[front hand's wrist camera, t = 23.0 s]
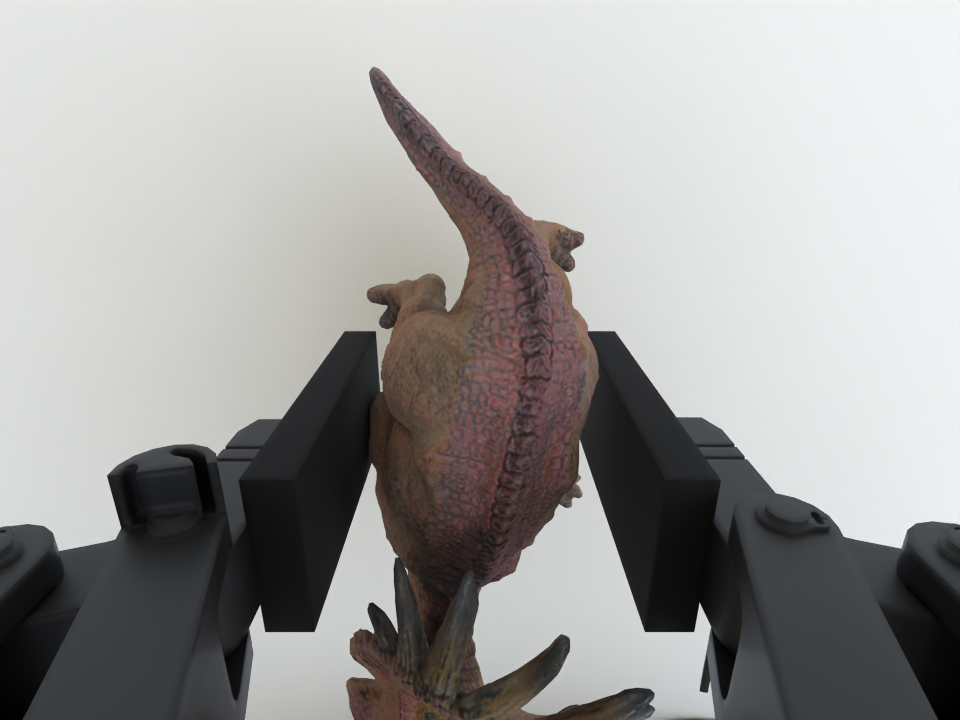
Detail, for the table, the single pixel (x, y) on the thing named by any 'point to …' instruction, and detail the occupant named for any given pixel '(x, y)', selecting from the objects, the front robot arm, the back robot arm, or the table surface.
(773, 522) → the front robot arm
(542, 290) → the dinosaur figurine
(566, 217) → the table surface
